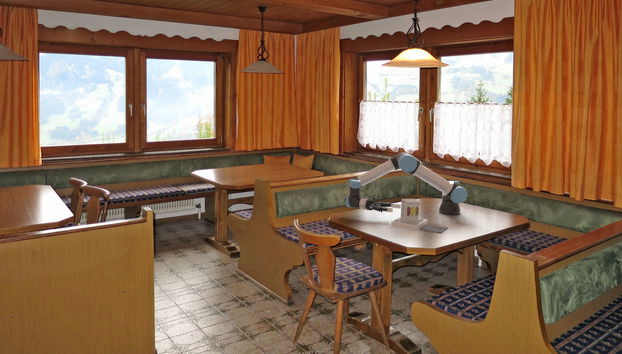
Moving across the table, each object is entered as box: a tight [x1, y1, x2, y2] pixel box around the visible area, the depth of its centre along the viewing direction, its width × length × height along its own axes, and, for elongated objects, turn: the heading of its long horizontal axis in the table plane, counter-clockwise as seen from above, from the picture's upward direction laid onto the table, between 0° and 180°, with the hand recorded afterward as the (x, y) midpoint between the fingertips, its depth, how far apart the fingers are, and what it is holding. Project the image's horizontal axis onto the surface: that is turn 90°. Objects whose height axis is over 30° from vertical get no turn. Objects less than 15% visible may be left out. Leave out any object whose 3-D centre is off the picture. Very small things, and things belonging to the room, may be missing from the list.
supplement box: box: [399, 198, 421, 225], centre depth 347 cm, size 10×9×17 cm
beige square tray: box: [390, 216, 428, 231], centre depth 349 cm, size 19×18×3 cm
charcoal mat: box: [419, 223, 449, 234], centre depth 339 cm, size 14×14×1 cm
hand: (396, 208), depth 352 cm, fingers open, 13 cm apart
